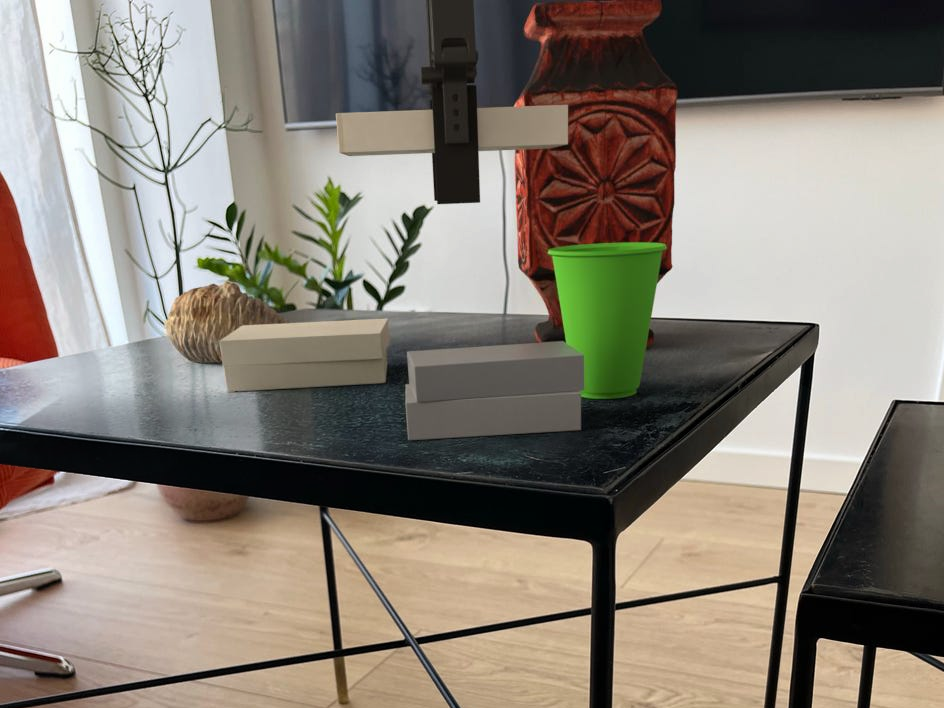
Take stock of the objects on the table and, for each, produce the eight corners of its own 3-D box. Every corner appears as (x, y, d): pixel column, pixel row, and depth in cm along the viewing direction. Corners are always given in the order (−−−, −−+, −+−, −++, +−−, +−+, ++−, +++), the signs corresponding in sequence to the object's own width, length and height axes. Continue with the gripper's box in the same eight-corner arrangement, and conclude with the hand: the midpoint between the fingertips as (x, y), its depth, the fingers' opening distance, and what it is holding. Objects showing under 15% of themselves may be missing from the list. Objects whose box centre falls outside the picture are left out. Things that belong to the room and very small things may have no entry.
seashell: (173, 395, 111) (123, 313, 104) (230, 343, 116) (186, 261, 109) (258, 401, 103) (210, 313, 96) (315, 345, 108) (273, 258, 101)
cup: (536, 402, 79) (532, 253, 75) (567, 381, 87) (566, 243, 82) (650, 406, 76) (653, 250, 72) (672, 383, 84) (676, 241, 80)
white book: (339, 153, 63) (335, 113, 62) (348, 156, 72) (345, 121, 71) (567, 144, 63) (568, 104, 62) (548, 148, 72) (548, 114, 72)
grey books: (408, 441, 70) (402, 367, 67) (408, 417, 76) (403, 349, 74) (586, 430, 70) (586, 356, 68) (570, 408, 77) (569, 340, 75)
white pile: (225, 393, 89) (217, 341, 87) (243, 372, 99) (236, 325, 97) (390, 384, 90) (386, 332, 88) (392, 364, 99) (388, 317, 98)
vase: (643, 331, 112) (649, 14, 99) (670, 349, 99) (682, -10, 87) (518, 338, 112) (509, 21, 99) (529, 357, 99) (521, -2, 87)
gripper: (519, -291, 50) (526, 203, 59) (488, -154, 70) (498, 196, 79) (365, -288, 49) (397, 208, 59) (380, -151, 70) (402, 200, 79)
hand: (455, 201), depth 69 cm, fingers closed on white book, 10 cm apart
